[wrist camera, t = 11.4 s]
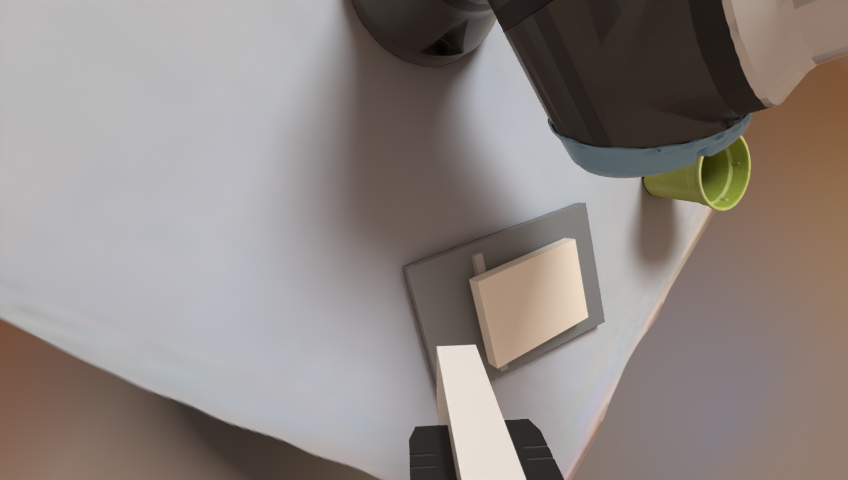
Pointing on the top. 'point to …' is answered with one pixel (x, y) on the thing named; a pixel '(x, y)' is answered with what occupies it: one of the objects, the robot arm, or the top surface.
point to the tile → (529, 300)
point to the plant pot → (707, 179)
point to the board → (451, 270)
